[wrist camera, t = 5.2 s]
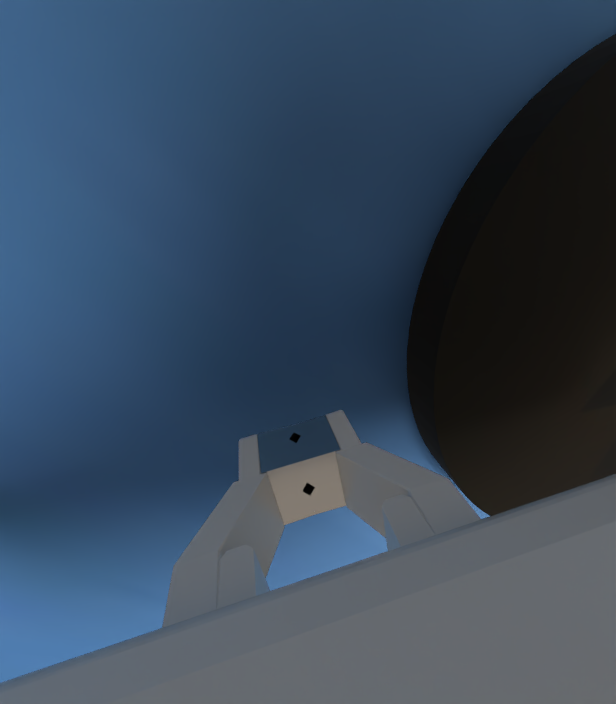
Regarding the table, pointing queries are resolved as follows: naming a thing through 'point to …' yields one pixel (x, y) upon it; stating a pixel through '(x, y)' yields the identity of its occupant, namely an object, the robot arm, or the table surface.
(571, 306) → the wireless charger
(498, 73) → the table surface
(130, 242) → the table surface
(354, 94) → the table surface
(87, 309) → the table surface
